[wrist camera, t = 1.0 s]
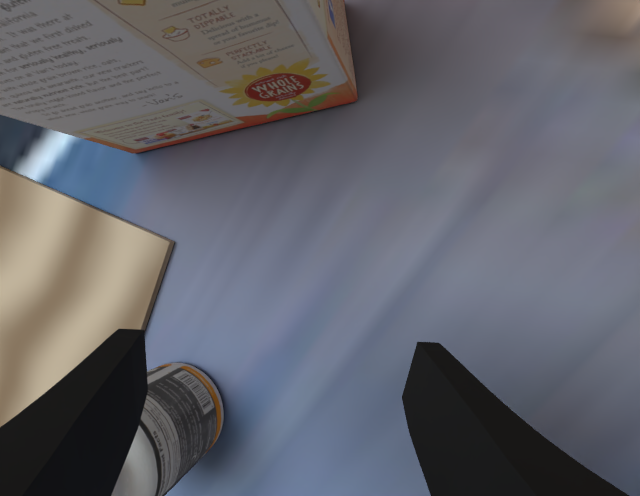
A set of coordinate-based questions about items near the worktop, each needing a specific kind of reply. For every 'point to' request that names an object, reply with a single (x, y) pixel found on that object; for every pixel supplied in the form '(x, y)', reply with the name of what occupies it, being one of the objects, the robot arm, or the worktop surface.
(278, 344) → the worktop surface
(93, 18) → the cracker box
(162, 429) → the pill bottle
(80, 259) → the beige flat rectangular panel
